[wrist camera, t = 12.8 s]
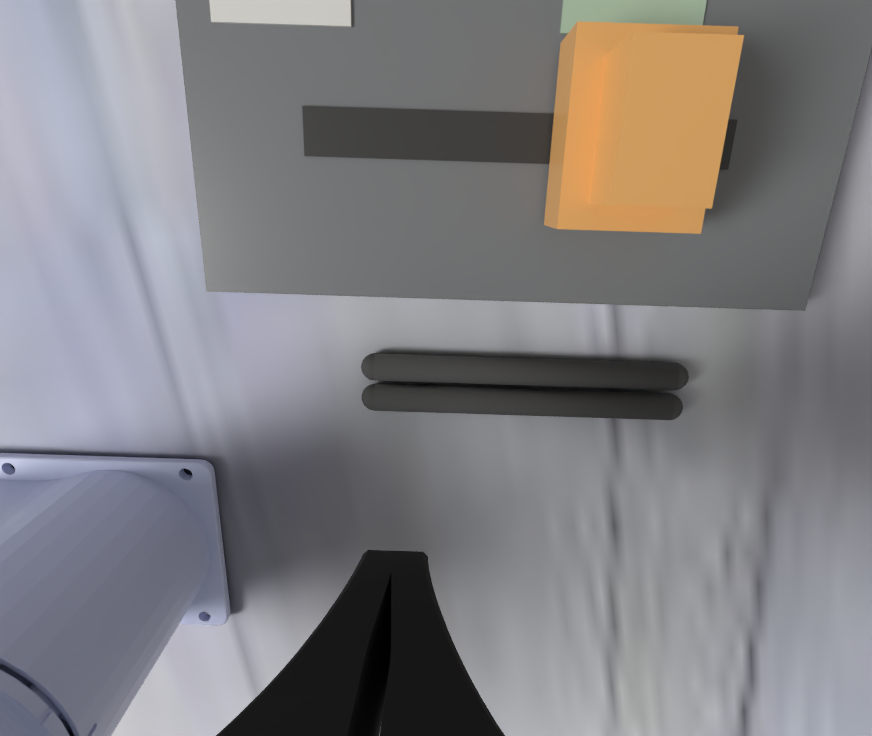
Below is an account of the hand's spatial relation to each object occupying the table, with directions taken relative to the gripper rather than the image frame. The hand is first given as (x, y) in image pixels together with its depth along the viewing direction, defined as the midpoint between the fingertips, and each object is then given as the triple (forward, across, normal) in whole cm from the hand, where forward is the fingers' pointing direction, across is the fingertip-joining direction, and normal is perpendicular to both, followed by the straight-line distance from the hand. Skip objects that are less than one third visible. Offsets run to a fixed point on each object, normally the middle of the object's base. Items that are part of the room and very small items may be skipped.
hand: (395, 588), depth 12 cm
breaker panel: (+9, -3, -10) cm, 14 cm away
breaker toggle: (+8, -6, -10) cm, 14 cm away
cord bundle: (+9, -4, -1) cm, 10 cm away
